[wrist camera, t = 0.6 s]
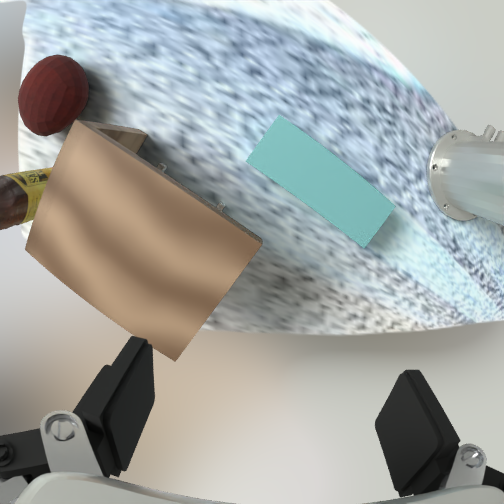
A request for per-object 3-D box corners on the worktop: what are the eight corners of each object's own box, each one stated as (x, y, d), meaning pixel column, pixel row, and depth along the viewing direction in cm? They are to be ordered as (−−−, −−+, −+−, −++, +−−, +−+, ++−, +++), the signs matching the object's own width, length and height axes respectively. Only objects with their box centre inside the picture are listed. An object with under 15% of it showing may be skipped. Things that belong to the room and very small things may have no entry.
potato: (98, 131, 35) (63, 127, 27) (39, 142, 35) (2, 143, 27) (103, 53, 32) (71, 36, 24) (44, 71, 32) (9, 62, 24)
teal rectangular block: (248, 161, 36) (245, 161, 31) (277, 120, 34) (279, 114, 29) (352, 237, 38) (364, 248, 33) (380, 200, 36) (395, 206, 31)
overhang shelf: (138, 129, 35) (75, 119, 21) (263, 211, 37) (262, 244, 23) (91, 219, 38) (24, 249, 25) (202, 296, 41) (175, 361, 27)
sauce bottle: (78, 165, 36) (-31, 183, 17) (78, 209, 38) (-25, 251, 19) (45, 167, 36) (-59, 186, 17) (46, 208, 38) (-54, 245, 19)
